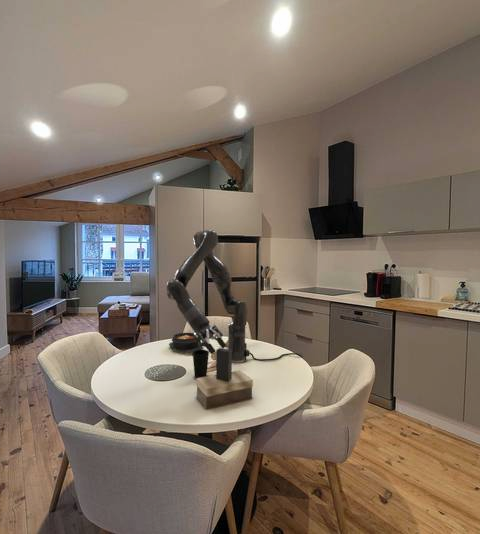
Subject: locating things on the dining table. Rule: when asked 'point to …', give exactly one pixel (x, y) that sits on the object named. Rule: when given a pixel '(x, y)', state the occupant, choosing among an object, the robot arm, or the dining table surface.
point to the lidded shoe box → (224, 390)
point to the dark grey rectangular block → (224, 364)
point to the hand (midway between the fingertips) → (219, 349)
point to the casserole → (185, 343)
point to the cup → (200, 363)
